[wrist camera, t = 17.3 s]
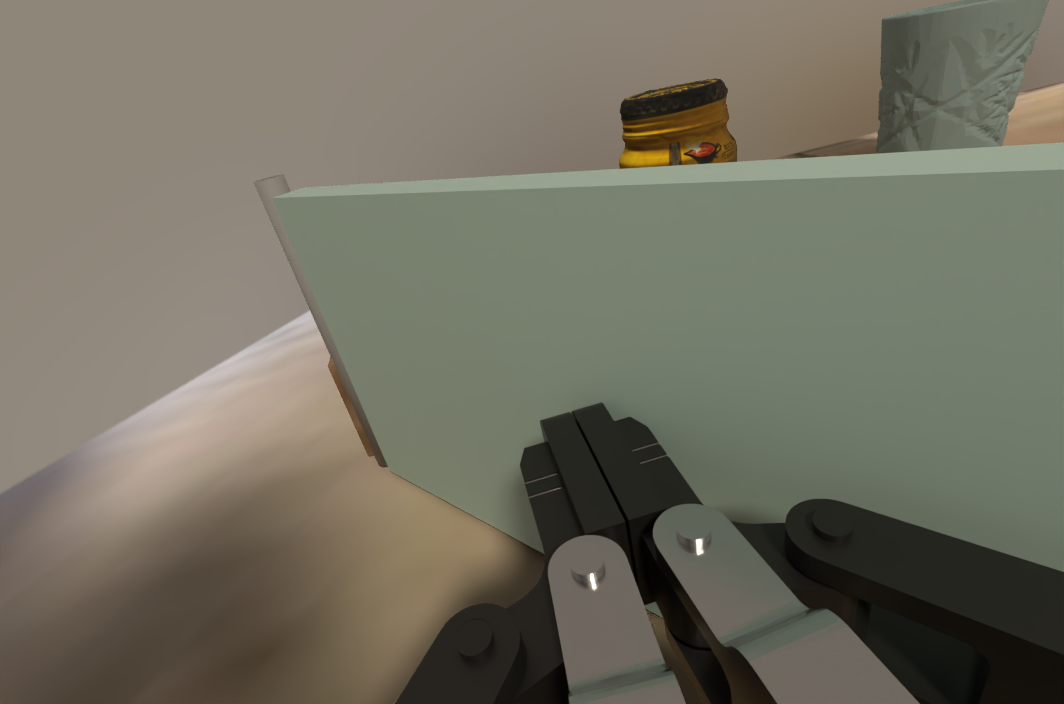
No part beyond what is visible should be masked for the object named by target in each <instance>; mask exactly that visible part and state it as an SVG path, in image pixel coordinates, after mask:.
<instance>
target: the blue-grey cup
mask: <svg viewBox="0 0 1064 704" xmlns="http://www.w3.org/2000/svg"><path fill="white" fill-rule="evenodd" d="M1048 2H1049V0H964V1H958V2H953V3H948V4H943V5H938V6H933V7H928V8H923V9H919V10H914V11H910V12H906V13H901V14H897V15H893V16H889V17H885V18H883V19H882V39H881V40H882V41H881V71H880V75H881V80H882V86H883V87H882V89H881V90H880V93H879V116H878V119H879V120H880V123H881V124H880V128H879V131H878V138H877V150H876V151H877V154H879V153H896V152H913V151H930V150H947V149H964V148H981V147H997V146H1002V143H1003V140H1004V137H1005V134H1006V131H1007V125H1008V117H1009V116H1008V113H1009V112H1010V111H1011V110H1012V109H1013V108H1014V105H1015V100H1016V98H1017V95H1018V91H1019V88H1020V84H1021V82H1022V80H1023V77H1024V73H1023V71H1022V68H1023V66H1024V65H1025V63H1026V62H1027V60H1028V57H1029V56H1030V54H1031V52H1032V49H1033V47H1034V43H1035V40H1036V37H1037V34H1038V31H1039V28H1040V25H1041V22H1042V19H1043V16H1044V13H1045V10H1046V7H1047V5H1048Z"/></svg>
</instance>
